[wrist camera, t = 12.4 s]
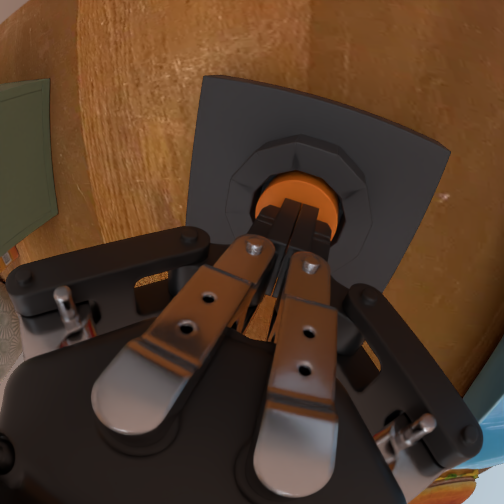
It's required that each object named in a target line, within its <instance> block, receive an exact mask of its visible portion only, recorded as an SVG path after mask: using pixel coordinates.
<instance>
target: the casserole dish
mask: <svg viewBox="0 0 504 504" xmlns="http://www.w3.org/2000/svg"><path fill="white" fill-rule="evenodd" d="M463 400H464V402H465V403H466V405H467V406H468V408H469V409H470V411H471V412H472V414H473V415H474V417H475V418H476V420H477V421H478V423H479V425H480V426H481V429H482V432H483V446H482V449H481V451H480V452H479V453H478V454H477V455H476V456H475V457H473V458H471V459H469V460H467V461H466V462H464V463H462V464H460V465H458V466H456V467H454V468H452V469H465V468H469V469H481V468H487V467H492V466H496V465H499V464H503V463H504V335H503V337H502V339H501V340H500V342H499V344H498V345H497V347H496V349H495V350H494V352H493V353H492V355H491V356H490V358H489V359H488V361H487V363H486V364H485V366H484V367H483V369H482V370H481V372H480V373H479V375H478V376H477V377H476V379H475V380H474V382H473V383H472V385H471V386H470V388H469V389H468V391H467V392H466V394H465V396H464V397H463Z"/></svg>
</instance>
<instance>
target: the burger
mask: <svg viewBox="0 0 504 504" xmlns="http://www.w3.org/2000/svg"><path fill="white" fill-rule="evenodd" d="M476 478H479V477H478V469H469V468H465V469H450V470H448V471H446V472H444V473H442V474H441V475H440V476H439V477H438V478H437V479H436V480H435V481H434V482H433V483H431V484H430V485H429V486H428V487H427V488H426V489H425V490H423V491H422V492H421V493H420V494H419V495H418V496H416V497H415V498H414V499H413V500H411V501H410V502H409V503H408V504H461V503H463V502H464V501H465V500H466V499H468V498H469V497H470V495H471V494H472V493H473V491H474V490H475V487H476V482H475V479H476Z"/></svg>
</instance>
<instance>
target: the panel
mask: <svg viewBox="0 0 504 504" xmlns="http://www.w3.org/2000/svg"><path fill="white" fill-rule="evenodd" d="M450 154H451V151H450V150H448V149H447V148H446V147H444V146H443V145H442V144H440V143H439V142H438V141H436V140H433V139H431V138H429V137H427V136H425V135H423V134H421V133H418V132H416V131H414V130H412V129H409V128H407V127H405V126H402V125H400V124H397V123H395V122H392V121H390V120H387V119H385V118H382V117H380V116H377V115H374V114H372V113H369V112H366V111H363V110H360V109H358V108H355V107H352V106H349V105H346V104H343V103H339V102H336V101H333V100H330V99H326V98H323V97H320V96H316V95H313V94H309V93H305V92H301V91H298V90H294V89H290V88H285V87H281V86H277V85H272V84H268V83H263V82H258V81H253V80H248V79H242V78H237V77H231V76H224V75H207V76H203V82H202V88H201V95H200V101H199V108H198V115H197V122H196V129H195V137H194V145H193V153H192V162H191V171H190V181H189V191H188V202H187V213H186V226H193V227H198V228H200V229H202V230H204V231H206V232H207V233H208V234H209V236H210V243H214V244H224V245H228V244H232V242H233V241H234V240H235V239H236V238H237V237H238V236H240V235H243V234H247V232H248V231H249V229H250V227H251V226H252V224H253V223H254V221H255V220H256V218H255V211H256V205H257V202H258V200H259V198H260V197H261V195H262V194H263V192H264V191H265V189H266V188H267V186H268V185H269V183H270V182H271V181H272V180H273V178H274V177H276V176H277V175H278V174H280V173H285V172H290V171H295V170H298V171H301V172H304V173H307V174H311V175H314V176H317V177H320V178H322V179H323V180H324V181H325V182H326V183H327V184H328V185H329V186H330V187H331V188H332V189H333V190H334V191H335V192H336V193H337V197H338V201H339V211H338V224H337V229H336V233H335V235H334V237H333V238H332V240H331V241H330V249H329V257H328V264H329V266H330V269H331V276H332V277H333V278H334V279H335V280H336V281H337V282H339V283H340V284H342V285H343V286H345V287H347V288H349V289H350V287H351V286H352V285H354V284H356V283H364V284H368V285H370V286H372V287H374V288H376V289H377V290H379V291H380V292H381V293H383V291H384V289H385V288H386V286H387V284H388V282H389V281H390V279H391V277H392V275H393V274H394V272H395V270H396V268H397V267H398V265H399V263H400V261H401V259H402V258H403V256H404V254H405V252H406V250H407V248H408V246H409V244H410V242H411V241H412V239H413V237H414V235H415V233H416V231H417V229H418V227H419V225H420V223H421V221H422V219H423V216H424V214H425V212H426V210H427V208H428V206H429V204H430V201H431V199H432V197H433V195H434V193H435V190H436V188H437V186H438V183H439V181H440V179H441V176H442V174H443V171H444V169H445V167H446V164H447V162H448V159H449V156H450ZM285 255H286V254H285ZM284 258H285V257H284ZM283 261H284V260H283ZM282 265H283V262H282ZM282 265H281V268H282ZM281 268H280V271H281ZM280 271H279V274H280ZM279 274H278V276H277V277H279Z"/></svg>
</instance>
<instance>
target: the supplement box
mask: <svg viewBox="0 0 504 504" xmlns="http://www.w3.org/2000/svg"><path fill="white" fill-rule="evenodd" d="M17 257H19V254H18V251H17V249H16V247H15V246H14V247H12V248H11V249H10V250H9V251H7V252H6V253H5V254H4V255H3V256H1V257H0V273H1V272H2V271H3V270H4V269H5V268H7V267H8V266H9V265H10V264H11V263H12V262H13V261H14V260H15V259H16V258H17Z"/></svg>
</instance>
